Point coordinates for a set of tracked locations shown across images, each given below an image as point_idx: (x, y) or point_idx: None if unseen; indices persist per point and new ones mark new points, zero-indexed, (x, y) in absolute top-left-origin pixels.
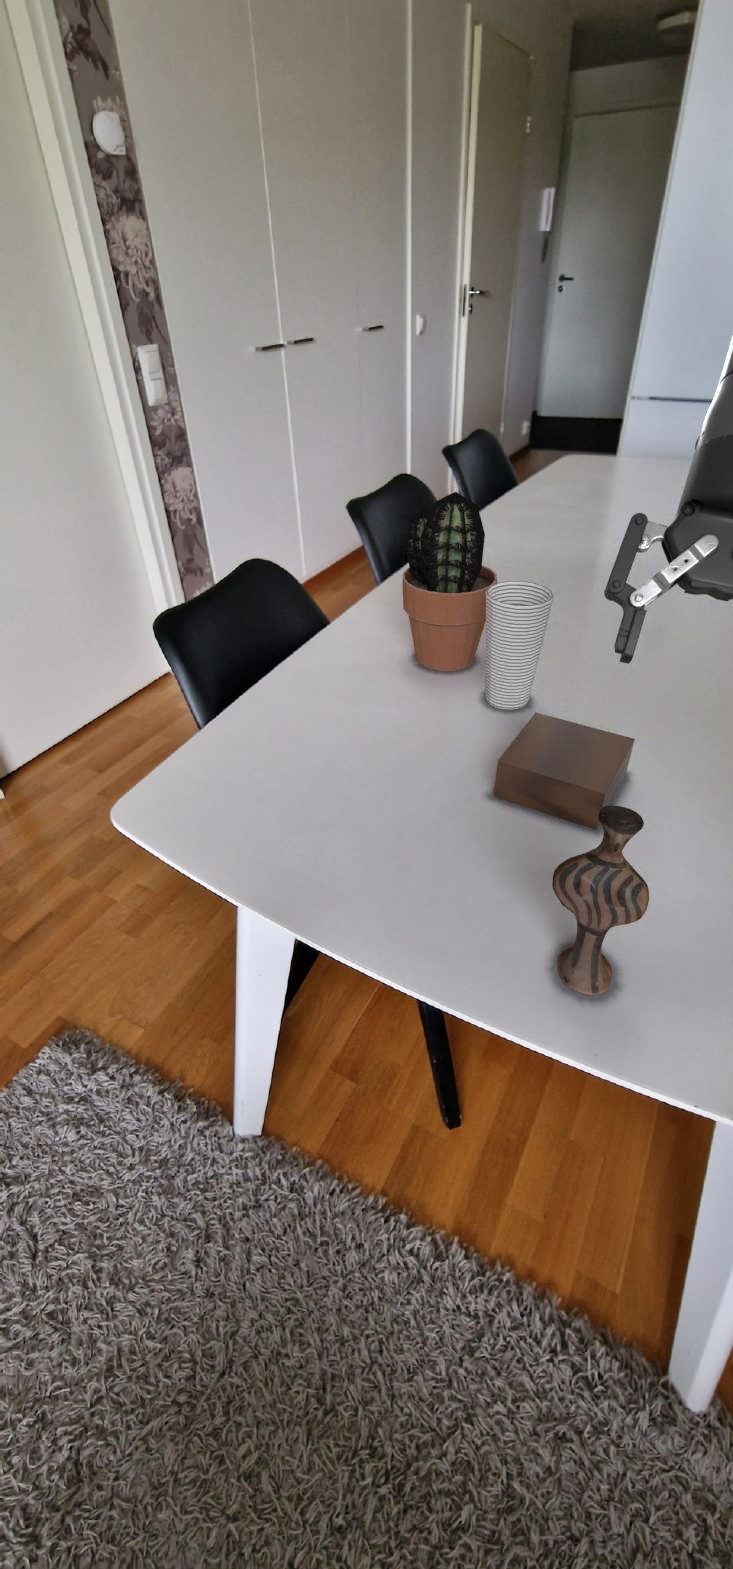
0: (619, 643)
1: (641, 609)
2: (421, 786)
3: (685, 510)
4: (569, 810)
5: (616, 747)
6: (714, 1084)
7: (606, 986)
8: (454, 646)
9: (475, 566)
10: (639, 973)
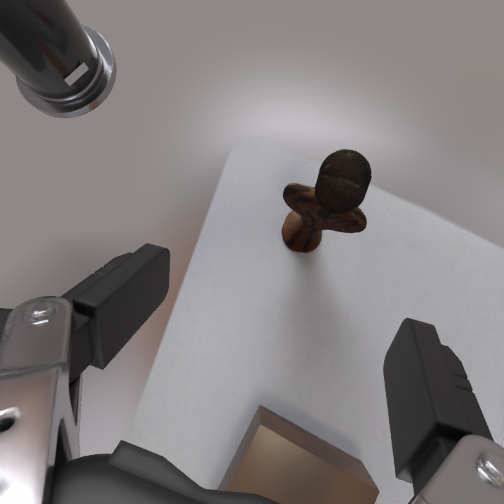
0: (451, 358)
1: (455, 429)
2: None
3: None
4: (288, 425)
5: None
6: (235, 147)
7: (289, 214)
8: None
9: None
10: (260, 230)
